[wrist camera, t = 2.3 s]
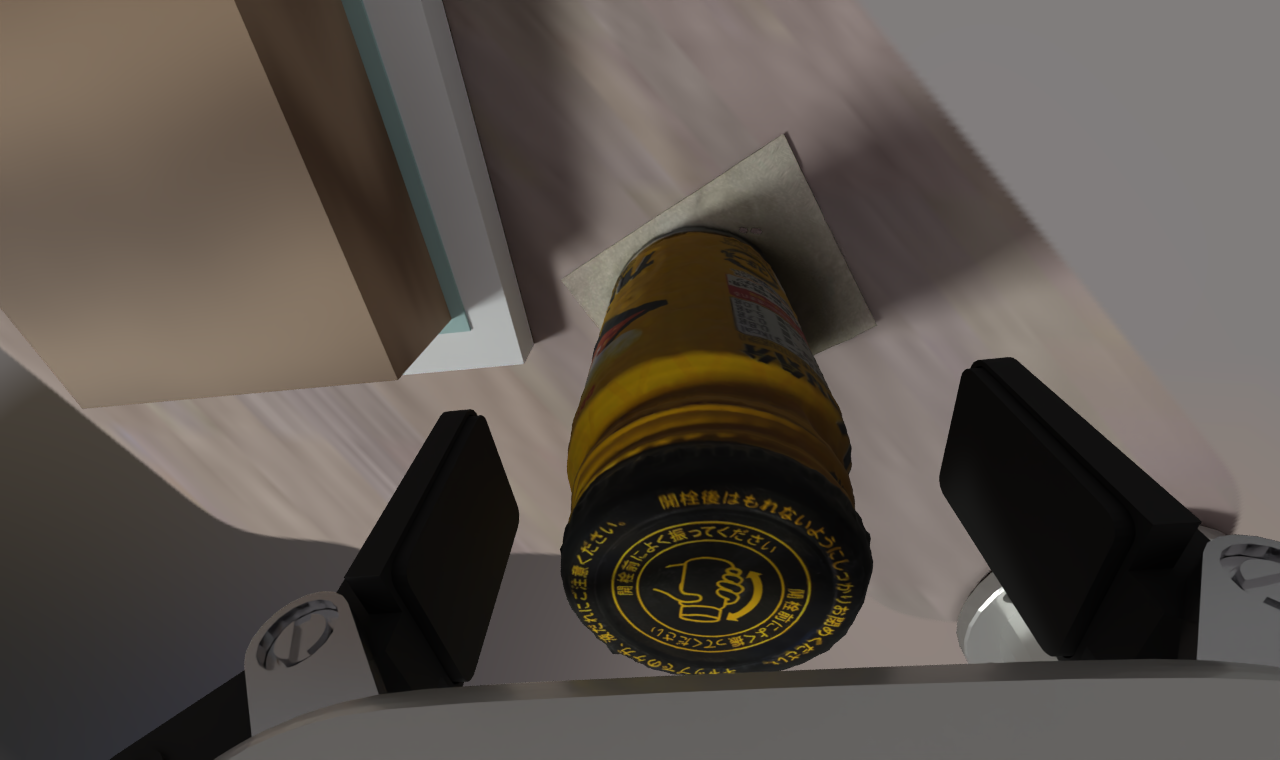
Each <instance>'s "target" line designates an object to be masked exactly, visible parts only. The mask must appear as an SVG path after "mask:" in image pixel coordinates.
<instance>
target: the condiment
mask: <svg viewBox="0 0 1280 760" xmlns="http://www.w3.org/2000/svg"><path fill="white" fill-rule="evenodd" d="M740 227H744V228H747V230H748V232H747V233H741V232H740V231H739V229H738V228H740ZM752 228H760V229H761V231H762V233H761V234H754V233H752V232H751V229H752ZM561 281H562V282H563V283H564V284H565V286H566V287H567V288H568V289H569V291H570V292H571V294H572V295H573V296H574V297H575V299H576V300H577V301H578V303H579V304H580V305H581V307H582V308H583V309H584V310H585V311H586V313H587V314H588V316H589V317H590V318H591V319H592V320H593V321H594V323H595V324H596V325H597V327H598V328H599V329H600V330H601V331H600V335H599V338H598V341H597V343H596V345H595V348H594V352H593V358H592V363H591V367H590V371H589V374H588V377H587V381H586V384H585V389H584V391H583V394H582V396H581V400H580V403H579V407H578V409H577V411H576V414H575V417H574V420H573V423H572V431H571V438H570V443H569V447H568V460H567V474H568V480H569V484H570V488H571V492H572V496H571V514H570V517H569V521H568V524H567V525H566V527H565V531H564V537H563V544H562V546H561V548H560V551H561V577H562V580H563V586H564V590H565V593H566V597H567V600H568V602H569V604H570V606H571V608H572V610H573V611H574V612H575V613H576V615H577V616H578V618H579V619H580V621H581V622H582V623H583V624H584V625H585V626H586V627H587V628H588V629H590V630H591V631H592V632H593V633H594V635H595V636H596V638H597V639H599V640H600V641H602V642H603V643H605V644H606V645H607V647H608V648H609V650H610V651H611V652H612V653H613V654H622V655H625V656H627V657H628V658H631V659H633V660H634V661H635V662H638V663H641V664H644V665H645V666H647V667H648V668H651V669H654V670H659V671H664V672H667V673H670V674H676V675H701V674H724V673H748V672H771V671H781V670H785V669H788V668H791V667H793V666H796V665H800V664H802V663H805V662H807V661H808V660H810V659H812V658H814V657H816V656H818V655H819V654H822V653H824V652H826V651H828V650H830V648H831V647H832V646H833V645H834V644H835V643H836V642H838V641H839V640H840V639H841V638H842V637H843V636H845V635H846V633H847V631H848V629H849V628H850V626H851V625H852V624H853V622H854V620H855V618H856V616H857V614H858V612H859V610H860V609H861V607H862V605H863V603H864V600H865V596H866V592H867V588H868V585H869V581H870V578H871V574H872V570H873V559H872V556H871V550H870V540H871V538H870V534H869V533H868V532H867V531H866V530H865V528H864V526H863V523H862V519H861V517H860V516H859V514H858V513H857V512H856V511H855V499H854V495H853V489H852V486H851V482H850V478H849V473H850V470H851V467H852V462H851V449H852V447H851V444H850V440H849V436H848V434H847V429H846V426H845V424H844V421H843V418H842V413H841V411H840V408H839V406H838V404H837V403H836V401H835V399H834V398H833V396H832V394H831V392H830V390H829V388H828V385H827V383H826V381H825V379H824V377H823V374H822V372H821V371H820V369H819V366H818V364H817V362H816V360H815V358H814V355H815V354H817V353H820V352H822V351H824V350H826V349H828V348H830V347H832V346H835V345H837V344H840V343H842V342H844V341H847V340H850V339H852V338H854V337H855V336H857V335H859V334H861V333H863V332H865V331H867V330H869V329H871V328H873V327H875V326H877V325H876V322H875V320H874V318H873V316H872V314H871V312H870V310H869V309H868V307H867V305H866V303H865V301H864V299H863V297H862V294H861V292H860V290H859V288H858V286H857V284H856V282H855V280H854V278H853V276H852V274H851V272H850V270H849V268H848V266H847V263H846V262H845V260H844V258H843V256H842V254H841V252H840V250H839V248H838V246H837V243H836V241H835V239H834V237H833V235H832V233H831V231H830V229H829V227H828V225H827V223H826V222H825V221H824V217H823V215H822V213H821V211H820V208H819V206H818V204H817V202H816V201H815V198H814V196H813V194H812V192H811V190H810V188H809V186H808V184H807V182H806V180H805V178H804V176H803V174H802V172H801V170H800V167H799V165H798V163H797V161H796V159H795V157H794V154H793V152H792V150H791V148H790V146H789V144H788V142H787V140H786V138H785V136H784V134H782V135H781V136H779V137H778V138H776V139H775V140H773V141H772V142H770V143H769V144H767V145H766V146H764V147H763V148H762V149H760V150H759V151H757V152H755V153H754V154H752V155H751V156H749V157H748V158H746V159H744V160H743V161H741V162H740V163H738V164H737V165H735V166H734V167H732V168H731V169H730V170H728V171H727V172H725V173H724V174H722V175H721V176H719V177H717V178H716V179H715V180H713V181H711V182H710V183H708V184H707V185H705V186H703V187H702V188H700V189H699V190H698V191H696V192H695V193H693V194H692V195H690V196H688V197H686V198H685V199H683V200H682V201H681V202H679V203H677V204H676V205H674V206H673V207H671V208H670V209H668V210H666V211H665V212H663V213H662V214H660V215H658V216H657V217H655V218H654V219H652V220H651V221H649V222H648V223H646V224H645V225H643V226H642V227H640V228H639V229H637V230H636V231H634V232H633V233H631V234H630V235H628V236H626V237H625V238H623V239H622V240H620V241H619V242H617V243H616V244H614V245H613V246H611V247H610V248H608V249H606V250H605V251H603V252H602V253H600V254H599V255H598V256H596V257H595V258H593V259H592V260H590V261H588V262H587V263H585V264H584V265H582V266H581V267H579V268H578V269H576V270H575V271H573V272H572V273H570V274H569V275H568V276H566V277H565V278H564V279H562V280H561Z"/></svg>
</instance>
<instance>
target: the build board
mask: <svg viewBox="0 0 1280 760" xmlns="http://www.w3.org/2000/svg"><path fill="white" fill-rule="evenodd" d="M341 1H342V4H343V7H344V10H345V13H346V15H347V18H348V21H349V24H350V27H351V30H352V33H353V36H354V38H355V41H356V44H357V47H358V50H359V53H360V56H361V59H362V62H363V64H364V67H365V70H366V73H367V76H368V79H369V82H370V85H371V88H372V90H373V93H374V96H375V99H376V102H377V105H378V108H379V111H380V113H381V116H382V119H383V122H384V125H385V128H386V131H387V134H388V137H389V139H390V142H391V145H392V148H393V151H394V154H395V157H396V160H397V163H398V165H399V168H400V171H401V174H402V177H403V180H404V183H405V186H406V188H407V191H408V194H409V197H410V200H411V203H412V206H413V209H414V212H415V214H416V217H417V220H418V223H419V226H420V229H421V232H422V235H423V238H424V240H425V243H426V246H427V249H428V252H429V255H430V258H431V261H432V263H433V266H434V269H435V272H436V275H437V278H438V281H439V284H440V287H441V289H442V292H443V295H444V298H445V301H446V304H447V307H448V310H449V313H450V315H451V318H452V319H451V321H450V322H449V323H448V324H447V325H446V326H445V327H444V329H443V330H442V331H441V332H440V333H439V334H438V335H437V336H436V338H435V339H434V340H433V341H432V342H431V343H430V344H429V345H428V347H427V348H426V349H425V350H424V351H423V352H422V353H421V354H420V356H419V357H418V358H417V359H416V360H415V361H414V362H413V363H412V365H411V366H410V367H409V368H408V369H407V370H406V371H405V373H404V374H403V375H409V374H420V373H431V372H442V371H452V370H463V369H474V368H485V367H496V366H507V365H517V364H524V363H525V361H526V359H527V357H528V355H529V353H530V351H531V349H532V347H533V345H534V343H533V339H532V335H531V331H530V328H529V324H528V320H527V317H526V313H525V309H524V305H523V302H522V298H521V294H520V290H519V287H518V283H517V279H516V275H515V272H514V268H513V264H512V260H511V257H510V253H509V249H508V245H507V242H506V238H505V234H504V230H503V227H502V223H501V219H500V215H499V212H498V208H497V204H496V201H495V197H494V193H493V189H492V186H491V182H490V178H489V174H488V171H487V167H486V163H485V159H484V156H483V152H482V148H481V144H480V141H479V137H478V133H477V129H476V126H475V122H474V118H473V114H472V111H471V107H470V103H469V99H468V96H467V92H466V88H465V85H464V81H463V77H462V73H461V70H460V66H459V62H458V58H457V55H456V51H455V47H454V43H453V40H452V36H451V32H450V28H449V25H448V21H447V17H446V13H445V10H444V6H443V2H442V0H341Z"/></svg>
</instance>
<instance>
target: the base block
mask: <svg viewBox="0 0 1280 760" xmlns="http://www.w3.org/2000/svg"><path fill="white" fill-rule="evenodd" d="M0 308H1V309H2V310H3V312H4V313H5V314H6V315H7V317H8V318H9V319H10V320H11V322H12V323H13V324H14V325H15V326H16V328H17V329H18V330H19V331H20V333H21V334H22V335H23V336H24V338H25V339H26V340H27V341H28V342H29V344H30V345H31V346H32V347H33V349H34V350H35V351H36V352H37V354H38V355H39V356H40V357H41V358H42V360H43V361H44V362H45V363H46V365H47V366H48V367H49V368H50V370H51V371H52V372H53V373H54V374H55V376H56V377H57V378H58V379H59V381H60V382H61V383H62V384H63V386H64V387H65V388H66V389H67V390H68V392H69V393H70V394H71V395H72V397H73V398H74V399H75V400H76V402H77V403H78V404H79V405H80V406H81V408H82V409H86V408H97V407H108V406H119V405H130V404H141V403H152V402H163V401H174V400H185V399H196V398H207V397H218V396H229V395H240V394H250V393H261V392H272V391H283V390H294V389H305V388H316V387H327V386H338V385H349V384H360V383H371V382H382V381H393V380H398V379H399V378H400V377H401V376H402V375H403V374H404V373H405V371H406V370H407V369H408V368H409V367H410V366H411V365H412V363H413V362H414V361H415V360H416V359H417V358H418V357H419V356H420V354H421V353H422V352H423V351H424V350H425V349H426V348H427V347H428V345H429V344H430V343H431V342H432V341H433V340H434V339H435V338H436V336H437V335H438V334H439V333H440V332H441V331H442V330H443V329H444V327H445V326H446V325H447V324H448V323H449V322H450V321H451V319H452V318H451V315H450V313H449V310H448V307H447V304H446V301H445V298H444V295H443V292H442V289H441V287H440V284H439V281H438V278H437V275H436V272H435V269H434V266H433V263H432V261H431V258H430V255H429V252H428V249H427V246H426V243H425V240H424V238H423V235H422V232H421V229H420V226H419V223H418V220H417V217H416V214H415V212H414V209H413V206H412V203H411V200H410V197H409V194H408V191H407V188H406V186H405V183H404V180H403V177H402V174H401V171H400V168H399V165H398V163H397V160H396V157H395V154H394V151H393V148H392V145H391V142H390V139H389V137H388V134H387V131H386V128H385V125H384V122H383V119H382V116H381V113H380V111H379V108H378V105H377V102H376V99H375V96H374V93H373V90H372V88H371V85H370V82H369V79H368V76H367V73H366V70H365V67H364V64H363V62H362V59H361V56H360V53H359V50H358V47H357V44H356V41H355V38H354V36H353V33H352V30H351V27H350V24H349V21H348V18H347V15H346V13H345V10H344V7H343V4H342V1H341V0H0Z"/></svg>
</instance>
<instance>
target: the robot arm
mask: <svg viewBox="0 0 1280 760" xmlns="http://www.w3.org/2000/svg"><path fill="white" fill-rule="evenodd" d="M939 481H940V487H941V490H942V492H943V494H944V496H945V498H946V499H947V501H948V502H949V504H950V506H951V507H952V509H953V510H954V512H955V513H956V515H957V517H958V518H959V520H960V521H961V523H962V525H963V526H964V528H965V529H966V531H967V532H968V534H969V536H970V537H971V539H972V540H973V542H974V543H975V545H976V547H977V548H978V550H979V551H980V553H981V554H982V556H983V558H984V559H985V561H986V562H987V564H988V565H989V567H990V569H991V570H992V573H991V574H990V575H988V576H987V577H986V578H985V579H984V580H983V581H982V582H981V583H980V584H979V585H978V586H977V587H976V588H975V590H974V591H973V592H972V594H971V595H970V596H969V597H968V599H967V600H966V602H965V603H964V605H963V608H962V610H961V612H960V615H959V617H958V623H957V632H956V633H957V637H958V642H959V646H960V647H961V649H962V652H963V654H964V656H965V658H966V660H967V662H968V664H953V665H925V666H898V667H869V668H845V669H822V670H821V669H820V670H796V671H771V672H748V673H724V674H701V675H679V676H656V677H635V678H615V679H592V680H571V681H552V682H529V683H511V684H496V685H480V686H465V687H463V683H464V682H468V681H470V680H471V678H472V677H473V675H474V672H475V669H476V666H477V663H478V659H479V656H480V652H481V649H482V646H483V642H484V639H485V636H486V632H487V629H488V626H489V622H490V619H491V615H492V612H493V609H494V605H495V602H496V598H497V595H498V592H499V589H500V585H501V582H502V579H503V575H504V572H505V568H506V565H507V562H508V558H509V555H510V552H511V548H512V545H513V542H514V538H515V535H516V531H517V528H518V524H519V510H518V506H517V503H516V501H515V498H514V495H513V492H512V490H511V487H510V484H509V481H508V479H507V476H506V473H505V470H504V468H503V465H502V462H501V459H500V457H499V454H498V451H497V448H496V446H495V443H494V440H493V437H492V435H491V432H490V429H489V426H488V424H487V421H486V419H485V417H484V416H482V415H479V416H477V414H476V412H475V411H474V410H472V409H468V410H458V411H448V412H444V413H443V414H442V415H441V416H440V418H439V419H438V421H437V423H436V424H435V426H434V428H433V429H432V431H431V433H430V434H429V436H428V438H427V439H426V441H425V443H424V444H423V446H422V448H421V449H420V451H419V453H418V454H417V456H416V458H415V459H414V461H413V463H412V464H411V466H410V468H409V469H408V471H407V473H406V475H405V476H404V478H403V480H402V481H401V483H400V485H399V486H398V488H397V490H396V491H395V493H394V495H393V496H392V498H391V500H390V501H389V503H388V505H387V506H386V508H385V510H384V511H383V513H382V515H381V516H380V518H379V520H378V521H377V523H376V525H375V526H374V528H373V530H372V531H371V533H370V535H369V536H368V538H367V540H366V541H365V543H364V545H363V546H362V548H361V550H360V551H359V553H358V555H357V557H356V558H355V560H354V562H353V563H352V565H351V567H350V568H349V570H348V572H347V573H346V575H345V577H344V578H345V580H344V581H343V583H342V584H341V586H340V588H339V590H338V591H337V593H335V592H325V591H321V592H317V593H313V594H309V595H306V596H304V597H302V598H300V599H298V600H295V601H293V602H291V603H290V604H288V605H287V606H285V607H284V608H282V609H281V610H279V611H278V612H277V613H275V614H274V615H273V616H272V617H271V618H270V619H269V620H268V621H267V622H266V623H264V624H263V626H262V627H261V628H260V629H259V631H258V632H257V633H256V635H255V636H254V637H253V639H252V641H251V643H250V645H249V647H248V649H247V651H246V655H245V664H244V666H245V667H244V668H245V670H244V671H242V672H241V673H240V674H238V675H236V676H235V677H234V678H232V679H231V680H229V681H228V682H226V683H224V684H223V685H221V686H220V687H218V688H217V689H215V690H214V691H212V692H211V693H209V694H208V695H206V696H205V697H203V698H202V699H200V700H198V701H197V702H195V703H194V704H192V705H191V706H189V707H188V708H186V709H185V710H183V711H182V712H180V713H179V714H177V715H176V716H174V717H173V718H171V719H170V720H168V721H167V722H165V723H164V724H162V725H161V726H159V727H158V728H156V729H155V730H153V731H151V732H150V733H148V734H147V735H145V736H144V737H142V738H141V739H139V740H138V741H136V742H135V743H133V744H132V745H130V746H129V747H127V748H126V749H124V750H123V751H121V752H120V753H118V754H117V755H115V756H114V757H113V758H111V759H110V760H1280V542H1278V541H1274V540H1270V539H1266V538H1261V537H1258V536H1247V535H1236V534H1235V535H1225V534H1223V533H1222V532H1220V531H1218V530H1215V529H1211V528H1208V527H1204V526H1201V525H1200V524H1201V521H1200V520H1199V519H1198V518H1197V517H1196V516H1195V515H1193V514H1192V513H1191V512H1190V511H1189V510H1188V509H1187V508H1185V507H1184V506H1183V505H1182V504H1181V503H1180V502H1179V501H1177V500H1176V499H1175V498H1174V497H1173V496H1172V495H1171V494H1169V493H1168V492H1167V491H1166V490H1165V489H1164V488H1163V487H1161V486H1160V485H1159V484H1158V483H1157V482H1156V481H1155V480H1153V479H1152V478H1151V477H1150V476H1149V475H1148V474H1147V473H1145V472H1144V471H1143V470H1142V469H1141V468H1140V467H1139V466H1137V465H1136V464H1135V463H1134V462H1133V461H1132V460H1130V459H1129V458H1128V457H1127V456H1126V455H1125V454H1124V453H1122V452H1121V451H1120V450H1119V449H1118V448H1117V447H1116V446H1114V445H1113V444H1112V443H1111V442H1110V441H1109V440H1108V439H1106V438H1105V437H1104V436H1103V435H1102V434H1101V433H1100V432H1098V431H1097V430H1096V429H1095V428H1094V427H1093V426H1092V425H1090V424H1089V423H1088V422H1087V421H1086V420H1085V419H1084V418H1082V417H1081V416H1080V415H1079V414H1078V413H1077V412H1076V411H1074V410H1073V409H1072V408H1071V407H1070V406H1069V405H1068V404H1066V403H1065V402H1064V401H1063V400H1062V399H1061V398H1060V397H1058V396H1057V395H1056V394H1055V393H1054V392H1053V391H1052V390H1050V389H1049V388H1048V387H1047V386H1046V385H1045V384H1044V383H1042V382H1041V381H1040V380H1039V379H1038V378H1037V377H1036V376H1034V375H1033V374H1032V373H1031V372H1030V371H1029V370H1027V369H1026V368H1025V367H1024V366H1023V365H1022V364H1021V363H1019V362H1018V361H1017V360H1016V359H1014V358H1011V357H1005V358H995V359H985V360H977V361H975V362H974V363H973V364H972V366H971V369H966V370H964V372H963V373H962V376H961V380H960V384H959V389H958V393H957V398H956V402H955V407H954V411H953V416H952V421H951V425H950V430H949V434H948V439H947V443H946V448H945V452H944V457H943V461H942V466H941V471H940V476H939Z"/></svg>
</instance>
